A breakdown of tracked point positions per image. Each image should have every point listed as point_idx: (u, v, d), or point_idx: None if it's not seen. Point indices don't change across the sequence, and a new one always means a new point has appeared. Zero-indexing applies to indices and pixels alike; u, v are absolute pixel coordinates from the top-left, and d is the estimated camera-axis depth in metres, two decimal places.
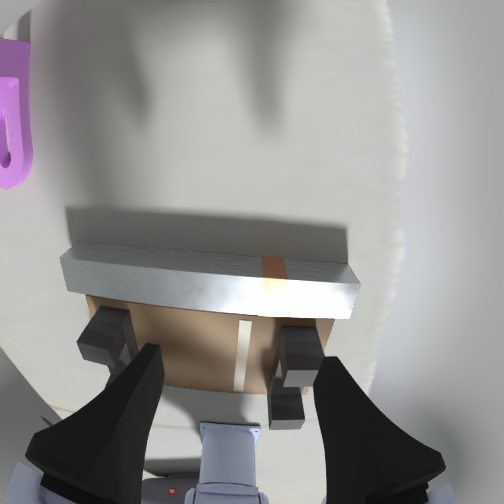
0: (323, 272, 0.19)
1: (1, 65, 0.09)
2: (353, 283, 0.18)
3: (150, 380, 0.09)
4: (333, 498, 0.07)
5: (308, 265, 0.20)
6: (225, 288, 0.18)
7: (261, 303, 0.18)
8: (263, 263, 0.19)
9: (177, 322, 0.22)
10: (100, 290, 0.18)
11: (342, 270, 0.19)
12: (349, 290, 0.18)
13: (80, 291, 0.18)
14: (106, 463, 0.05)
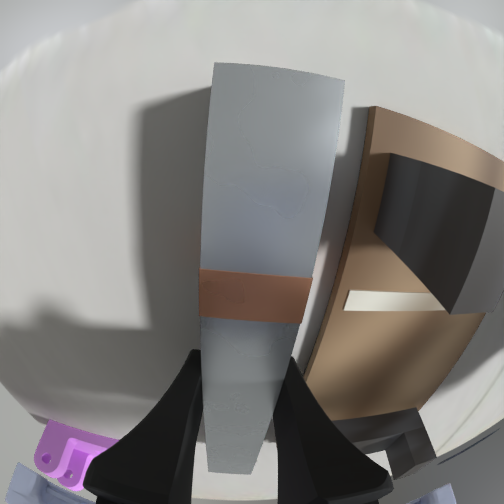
0: None
1: (55, 450, 0.16)
2: (212, 86, 0.05)
3: (201, 388, 0.09)
4: None
5: None
6: (229, 369, 0.09)
7: (267, 318, 0.08)
8: None
9: (330, 384, 0.13)
10: (246, 459, 0.13)
11: None
12: (235, 93, 0.05)
13: (250, 469, 0.14)
14: (177, 481, 0.05)
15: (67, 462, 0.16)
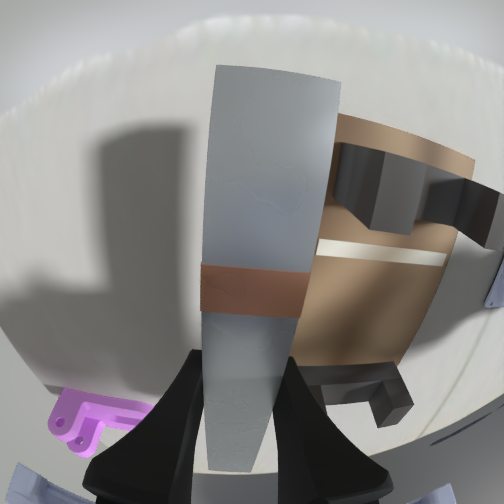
0: None
1: (69, 414, 0.20)
2: (214, 87, 0.06)
3: (200, 388, 0.09)
4: None
5: None
6: (230, 364, 0.09)
7: (267, 313, 0.08)
8: None
9: (312, 324, 0.18)
10: (246, 457, 0.13)
11: None
12: (236, 94, 0.06)
13: (250, 466, 0.14)
14: (177, 481, 0.05)
15: (80, 425, 0.20)
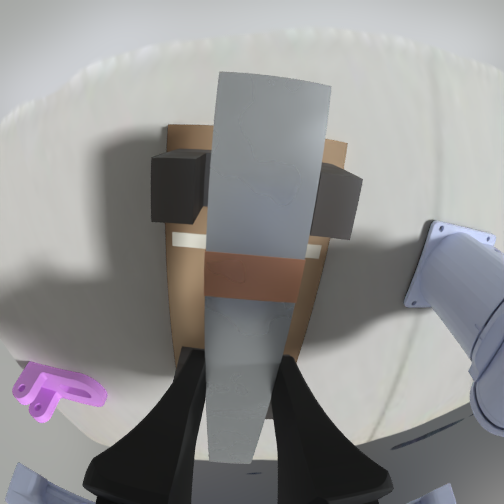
0: None
1: (29, 382, 0.23)
2: (217, 92, 0.06)
3: (201, 388, 0.09)
4: None
5: None
6: (230, 348, 0.10)
7: (265, 298, 0.09)
8: None
9: (187, 308, 0.20)
10: (246, 447, 0.14)
11: None
12: (237, 98, 0.06)
13: (250, 457, 0.15)
14: (177, 481, 0.05)
15: (37, 392, 0.23)
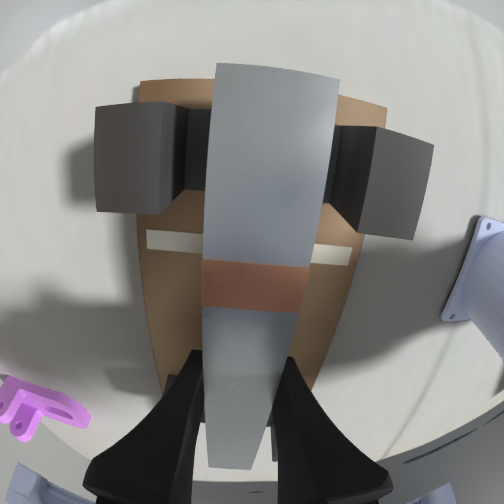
0: None
1: (7, 399, 0.18)
2: (215, 85, 0.06)
3: (201, 388, 0.09)
4: None
5: None
6: (230, 359, 0.09)
7: (267, 308, 0.08)
8: None
9: (171, 330, 0.15)
10: (246, 454, 0.13)
11: None
12: (236, 91, 0.06)
13: (250, 464, 0.14)
14: (177, 481, 0.05)
15: (15, 410, 0.18)
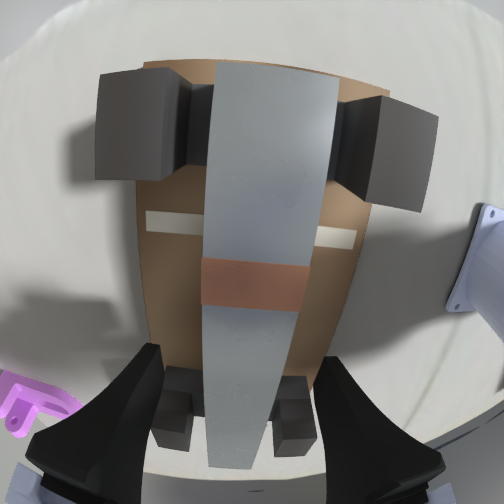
0: None
1: (2, 393, 0.17)
2: (215, 84, 0.06)
3: (150, 380, 0.09)
4: (333, 498, 0.07)
5: None
6: (229, 358, 0.09)
7: (267, 306, 0.08)
8: None
9: (170, 318, 0.15)
10: (246, 453, 0.13)
11: None
12: (236, 90, 0.06)
13: (250, 463, 0.14)
14: (106, 463, 0.05)
15: (10, 405, 0.17)
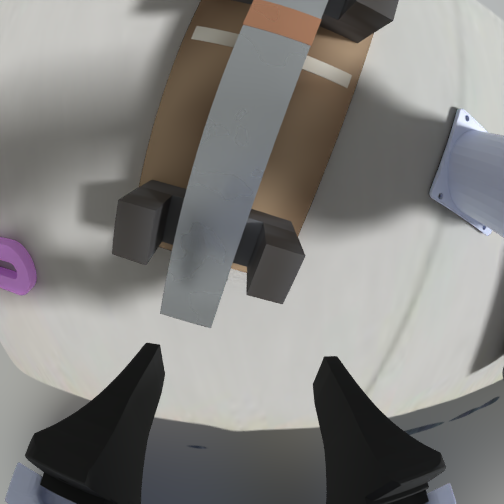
0: None
1: None
2: None
3: (150, 380, 0.09)
4: (333, 498, 0.07)
5: None
6: (247, 75, 0.10)
7: (288, 35, 0.09)
8: None
9: (178, 116, 0.15)
10: (215, 276, 0.14)
11: None
12: None
13: (213, 309, 0.15)
14: (106, 463, 0.05)
15: None
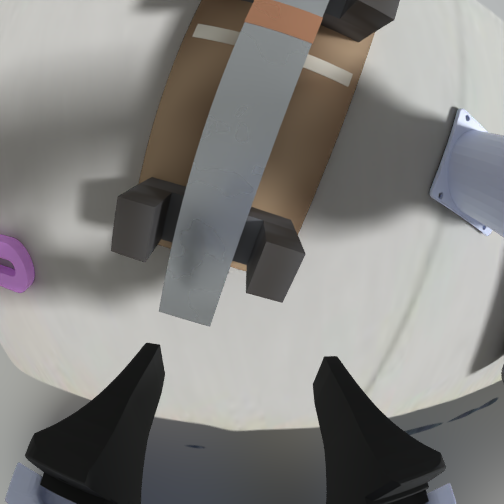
0: None
1: None
2: None
3: (150, 380, 0.09)
4: (333, 498, 0.07)
5: None
6: (248, 72, 0.10)
7: (290, 33, 0.09)
8: None
9: (179, 114, 0.15)
10: (215, 273, 0.14)
11: None
12: None
13: (212, 307, 0.14)
14: (106, 463, 0.05)
15: None
